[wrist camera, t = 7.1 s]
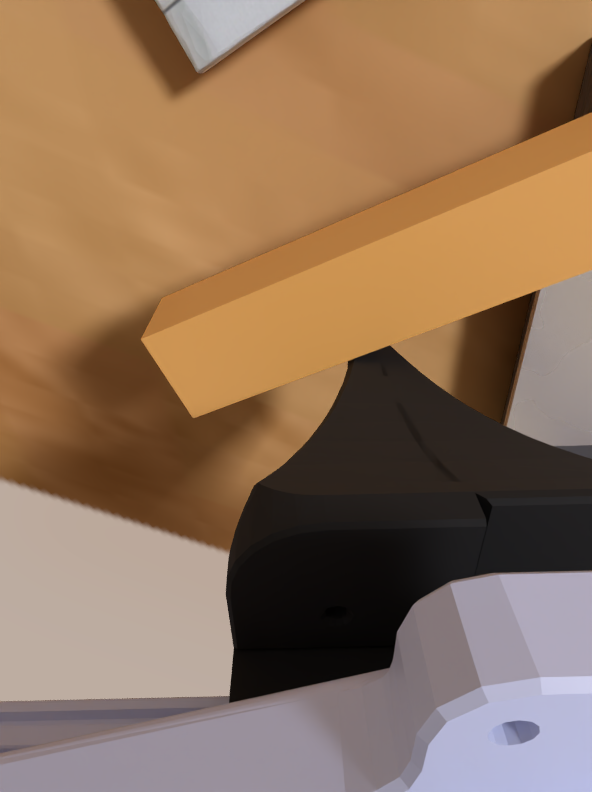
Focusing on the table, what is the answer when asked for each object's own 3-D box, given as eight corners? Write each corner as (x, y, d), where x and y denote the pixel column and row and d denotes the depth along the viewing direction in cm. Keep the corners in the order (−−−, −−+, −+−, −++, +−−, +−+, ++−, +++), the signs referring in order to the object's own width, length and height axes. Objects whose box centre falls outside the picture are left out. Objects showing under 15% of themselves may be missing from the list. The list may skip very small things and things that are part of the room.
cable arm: (957, -67, 8) (1127, -97, 7) (921, 105, 10) (1055, 115, 8) (154, 285, 11) (131, 325, 10) (211, 379, 13) (200, 429, 11)
